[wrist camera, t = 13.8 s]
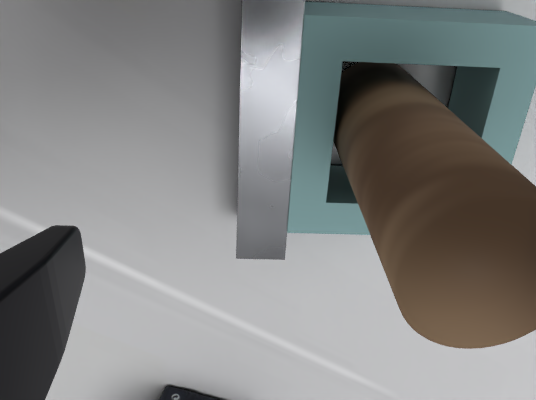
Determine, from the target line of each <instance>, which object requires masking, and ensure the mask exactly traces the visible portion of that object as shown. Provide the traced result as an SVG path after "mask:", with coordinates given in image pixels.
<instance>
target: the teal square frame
mask: <svg viewBox="0 0 536 400" xmlns="http://www.w3.org/2000/svg"><path fill="white" fill-rule="evenodd" d="M343 61H350V62H373V63H397V64H420V65H443V66H458V67H457V71H456V76H455V80H454V84H453V89H452V93H451V97H450V102H449V106H448V109H449V110H450V111H451V112H453V113H454V114H455V115H456V116H457V117H458V118H459V119H460V120H462V121H463V122H464V123H465V124H466V125H467V126H468V127H469V128H471V129H472V130H473V131H474V132H475V133H476V134H477V135H478V136H480V137H481V138H482V139H483V140H484V141H485V142H486V143H487V144H489V145H490V146H491V147H492V148H493V149H494V150H495V151H496V152H497V153H499V154H500V155H501V156H502V157H503V158H504V159H505V160H506V161H508V162H509V163H510V164H512V161H513V158H514V154H515V151H516V148H517V145H518V141H519V138H520V135H521V132H522V128H523V125H524V122H525V119H526V115H527V112H528V109H529V106H530V102H531V99H532V96H533V93H534V89H535V86H536V21H534V20H531V19H528V18H525V17H522V16H519V15H516V14H513V13H510V12H507V11H493V10H472V9H452V8H431V7H410V6H390V5H369V4H349V3H328V2H308V1H305V10H304V22H303V35H302V47H301V60H300V73H299V85H298V98H297V111H296V123H295V136H294V149H293V161H292V174H291V187H290V199H289V212H288V225H287V233H319V234H359V235H370V233H369V230H368V228H367V225H366V223H365V220H364V217H363V215H362V212H361V210H360V207H359V205H358V202H357V200H356V197H355V195H354V192H353V190H352V187H351V185H350V182H349V179H348V177H347V174H346V172H345V169H344V167H343V166H331V165H330V164H331V156H332V148H333V139H334V131H335V122H336V114H337V106H338V97H339V89H340V80H341V72H342V63H343Z"/></svg>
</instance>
